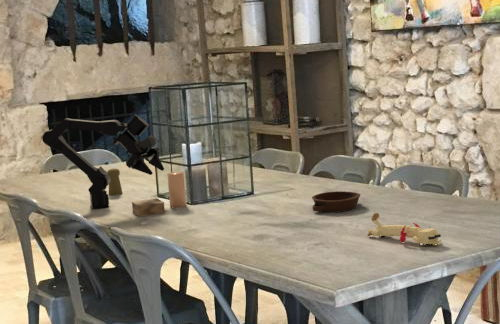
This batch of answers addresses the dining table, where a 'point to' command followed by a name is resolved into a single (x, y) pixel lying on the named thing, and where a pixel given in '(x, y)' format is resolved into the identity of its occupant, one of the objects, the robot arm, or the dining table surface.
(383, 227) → the cat figure
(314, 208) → the dish
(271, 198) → the dining table surface
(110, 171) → the olive chess pawn
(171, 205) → the salmon pink block
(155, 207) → the walnut riser
